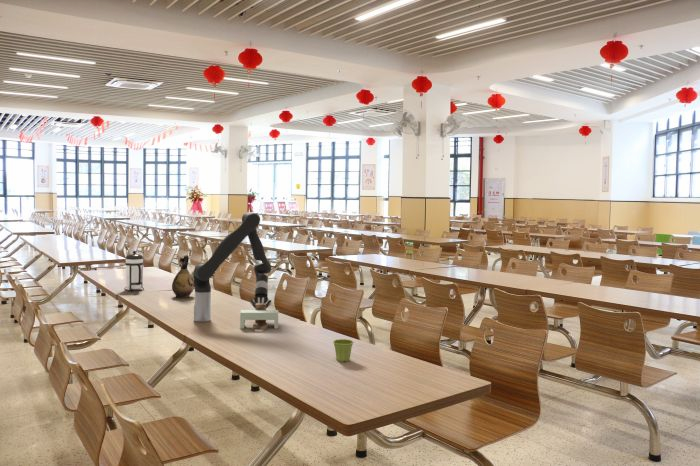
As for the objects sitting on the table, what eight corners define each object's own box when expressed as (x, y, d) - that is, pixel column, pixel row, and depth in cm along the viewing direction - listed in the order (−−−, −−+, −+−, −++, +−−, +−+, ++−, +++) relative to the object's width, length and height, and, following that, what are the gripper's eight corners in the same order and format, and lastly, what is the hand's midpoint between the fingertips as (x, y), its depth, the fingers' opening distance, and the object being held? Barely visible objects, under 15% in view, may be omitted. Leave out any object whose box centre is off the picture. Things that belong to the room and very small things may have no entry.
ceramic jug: (190, 299, 403) (191, 257, 401) (168, 298, 403) (169, 256, 401) (197, 295, 420) (197, 254, 418) (176, 294, 420) (176, 253, 418)
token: (253, 332, 313) (253, 330, 313) (254, 330, 318) (254, 328, 318) (262, 332, 313) (263, 330, 313) (263, 330, 318) (263, 328, 318)
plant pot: (346, 364, 258) (346, 345, 257) (328, 360, 263) (329, 342, 262) (356, 359, 266) (357, 341, 265) (339, 356, 271) (340, 338, 270)
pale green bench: (240, 328, 320) (240, 312, 319) (241, 325, 328) (241, 309, 327) (277, 328, 322) (278, 312, 321) (278, 325, 330) (278, 310, 329)
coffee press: (118, 291, 426) (118, 251, 424) (130, 288, 442) (130, 249, 440) (140, 292, 423) (140, 252, 421) (151, 289, 439) (151, 250, 437)
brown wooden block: (252, 329, 318) (252, 308, 317) (253, 323, 333) (254, 303, 332) (266, 329, 319) (267, 308, 318) (267, 323, 334) (267, 303, 333)
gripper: (250, 286, 341) (248, 310, 330) (272, 286, 343) (271, 310, 331) (250, 293, 347) (249, 317, 335) (272, 293, 348) (271, 318, 337)
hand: (260, 314), depth 333 cm, fingers closed
